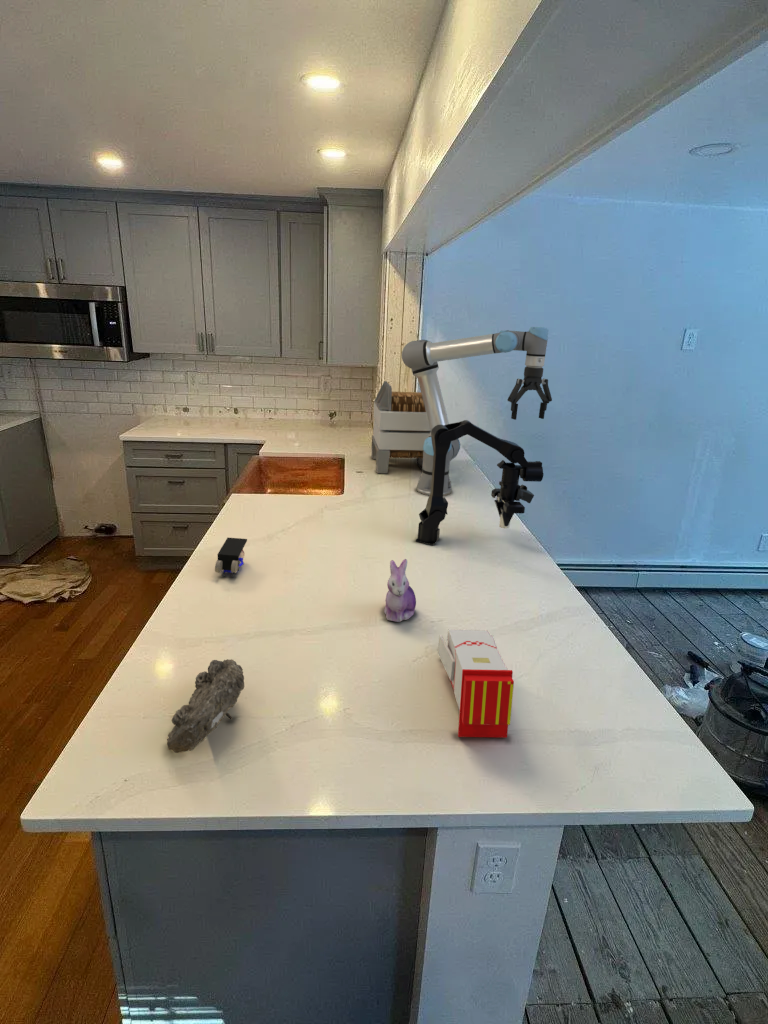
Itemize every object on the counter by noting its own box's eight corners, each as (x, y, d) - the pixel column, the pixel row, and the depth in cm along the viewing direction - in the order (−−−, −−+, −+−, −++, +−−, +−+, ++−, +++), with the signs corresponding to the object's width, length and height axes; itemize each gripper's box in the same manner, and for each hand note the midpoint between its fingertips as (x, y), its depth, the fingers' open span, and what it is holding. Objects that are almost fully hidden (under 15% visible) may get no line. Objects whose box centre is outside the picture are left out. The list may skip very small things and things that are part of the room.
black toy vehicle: (238, 584, 162) (249, 557, 175) (236, 562, 158) (247, 536, 172) (215, 584, 161) (227, 556, 175) (212, 561, 158) (225, 535, 171)
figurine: (392, 627, 141) (395, 572, 136) (374, 608, 149) (376, 556, 144) (425, 619, 145) (429, 566, 140) (405, 601, 154) (408, 550, 149)
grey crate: (370, 456, 302) (373, 378, 288) (430, 457, 305) (436, 380, 292) (376, 473, 270) (380, 387, 256) (443, 474, 274) (450, 389, 260)
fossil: (192, 660, 117) (244, 628, 112) (224, 691, 120) (276, 661, 115) (142, 746, 98) (202, 712, 93) (182, 779, 101) (242, 748, 96)
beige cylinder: (502, 529, 194) (504, 516, 192) (497, 525, 197) (498, 513, 196) (511, 528, 195) (513, 515, 194) (505, 524, 198) (507, 512, 197)
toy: (488, 613, 130) (523, 677, 101) (484, 667, 133) (517, 744, 104) (435, 612, 130) (455, 676, 101) (432, 666, 133) (451, 743, 103)
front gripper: (543, 489, 183) (536, 534, 188) (524, 473, 200) (518, 514, 205) (509, 489, 181) (503, 534, 187) (493, 472, 199) (488, 514, 204)
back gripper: (512, 367, 223) (506, 421, 231) (565, 368, 232) (557, 419, 239) (502, 365, 230) (497, 417, 237) (554, 366, 238) (547, 416, 246)
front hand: (504, 524), depth 196 cm, fingers closed on beige cylinder, 3 cm apart
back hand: (527, 418), depth 238 cm, fingers open, 13 cm apart
